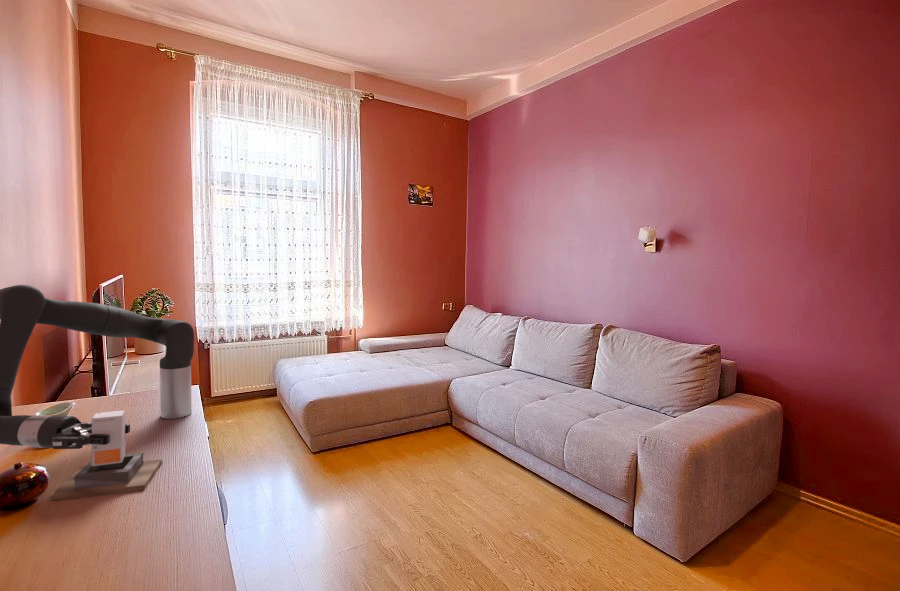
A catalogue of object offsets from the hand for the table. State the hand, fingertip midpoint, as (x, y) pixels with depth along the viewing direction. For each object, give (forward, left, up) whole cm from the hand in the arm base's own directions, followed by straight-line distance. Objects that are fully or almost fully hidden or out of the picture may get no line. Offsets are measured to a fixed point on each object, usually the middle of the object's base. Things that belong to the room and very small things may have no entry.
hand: (118, 434), depth 107 cm
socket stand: (-1, -2, -12) cm, 12 cm away
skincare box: (-1, -2, -7) cm, 8 cm away
